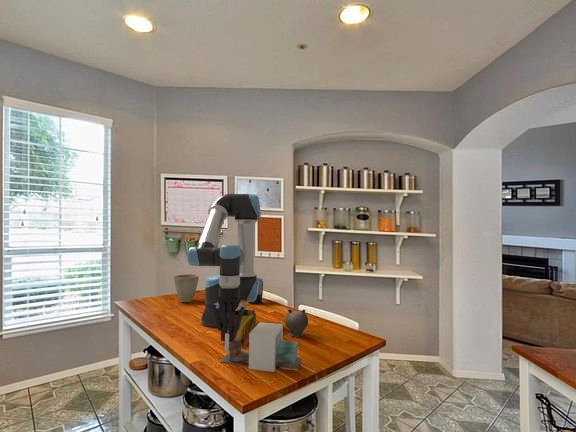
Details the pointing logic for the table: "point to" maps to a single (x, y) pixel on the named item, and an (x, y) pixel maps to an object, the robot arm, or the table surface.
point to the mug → (244, 326)
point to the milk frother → (259, 295)
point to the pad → (288, 368)
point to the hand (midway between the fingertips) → (228, 350)
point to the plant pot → (186, 286)
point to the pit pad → (227, 360)
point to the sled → (283, 359)
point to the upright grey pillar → (264, 346)
